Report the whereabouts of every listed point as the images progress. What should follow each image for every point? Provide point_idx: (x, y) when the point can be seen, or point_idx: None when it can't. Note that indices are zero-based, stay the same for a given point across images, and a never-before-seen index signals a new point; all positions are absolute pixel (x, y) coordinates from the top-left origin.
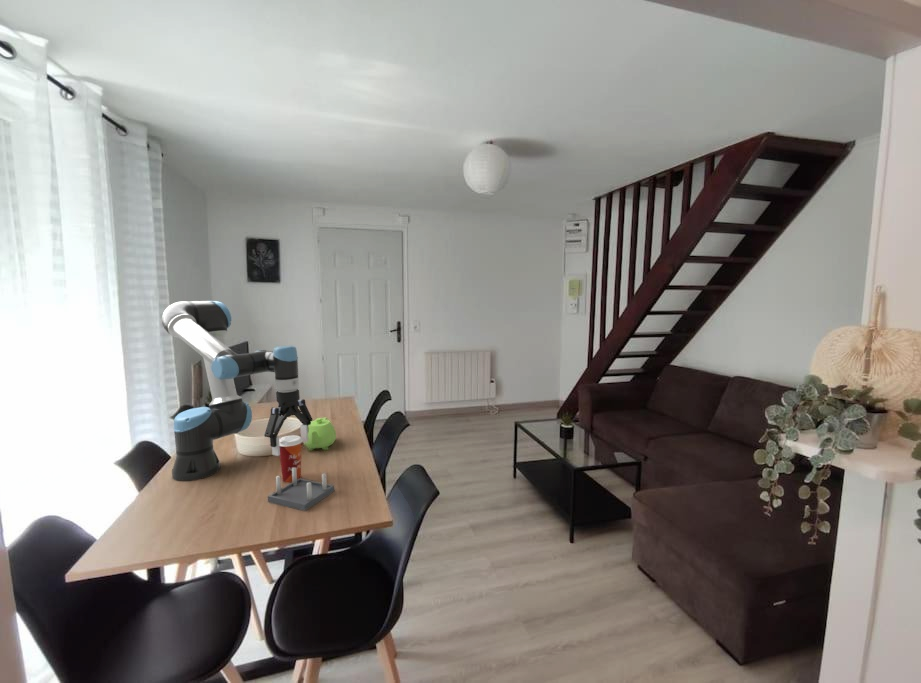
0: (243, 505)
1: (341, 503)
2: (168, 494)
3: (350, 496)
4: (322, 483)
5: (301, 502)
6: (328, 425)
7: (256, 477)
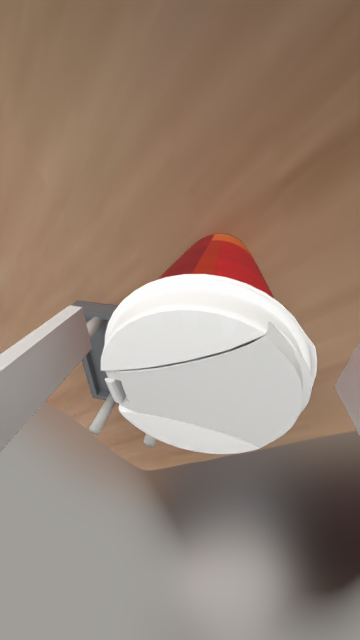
0: (29, 250)
1: None
2: None
3: None
4: None
5: (104, 381)
6: None
7: (179, 71)
